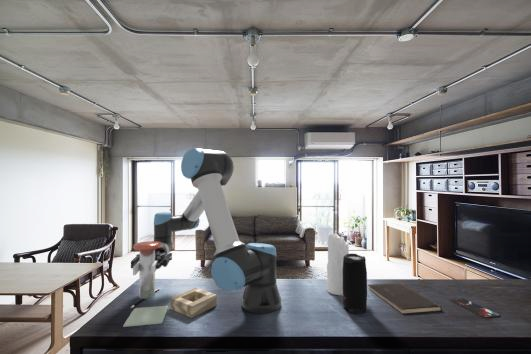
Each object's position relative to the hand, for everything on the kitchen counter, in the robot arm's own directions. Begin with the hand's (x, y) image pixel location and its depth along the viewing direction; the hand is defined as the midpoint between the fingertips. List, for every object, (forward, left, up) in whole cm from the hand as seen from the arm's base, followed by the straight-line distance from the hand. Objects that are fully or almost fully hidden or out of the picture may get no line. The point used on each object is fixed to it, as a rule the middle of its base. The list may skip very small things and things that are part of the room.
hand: (143, 270), depth 90 cm
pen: (+18, -12, -18) cm, 28 cm away
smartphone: (-92, -76, -18) cm, 120 cm away
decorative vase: (-45, -64, -18) cm, 80 cm away
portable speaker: (-56, -50, -18) cm, 77 cm away
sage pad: (+3, -4, -18) cm, 18 cm away
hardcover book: (-68, -70, -18) cm, 99 cm away
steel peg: (+4, -4, -10) cm, 12 cm away
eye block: (-5, -18, -18) cm, 25 cm away
